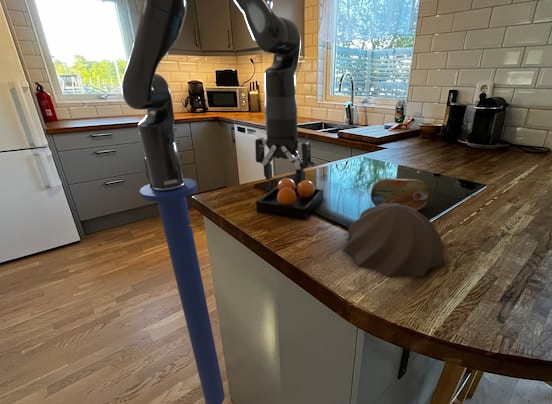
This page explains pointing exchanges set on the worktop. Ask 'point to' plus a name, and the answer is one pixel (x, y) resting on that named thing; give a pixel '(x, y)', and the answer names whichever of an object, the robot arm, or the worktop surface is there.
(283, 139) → the robot arm
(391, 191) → the tin
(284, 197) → the clementine
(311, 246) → the worktop surface
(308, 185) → the tray
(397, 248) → the decorative dome
